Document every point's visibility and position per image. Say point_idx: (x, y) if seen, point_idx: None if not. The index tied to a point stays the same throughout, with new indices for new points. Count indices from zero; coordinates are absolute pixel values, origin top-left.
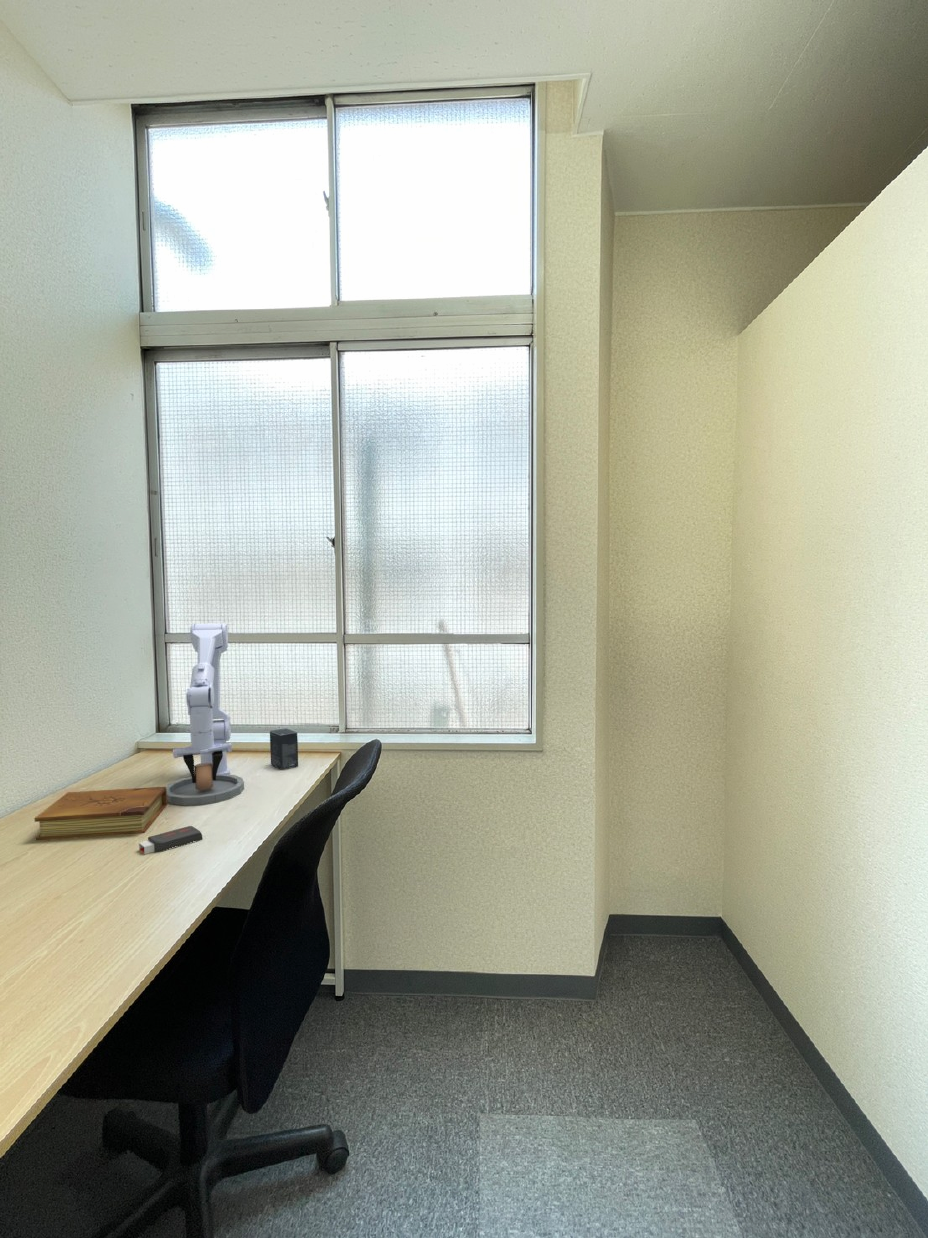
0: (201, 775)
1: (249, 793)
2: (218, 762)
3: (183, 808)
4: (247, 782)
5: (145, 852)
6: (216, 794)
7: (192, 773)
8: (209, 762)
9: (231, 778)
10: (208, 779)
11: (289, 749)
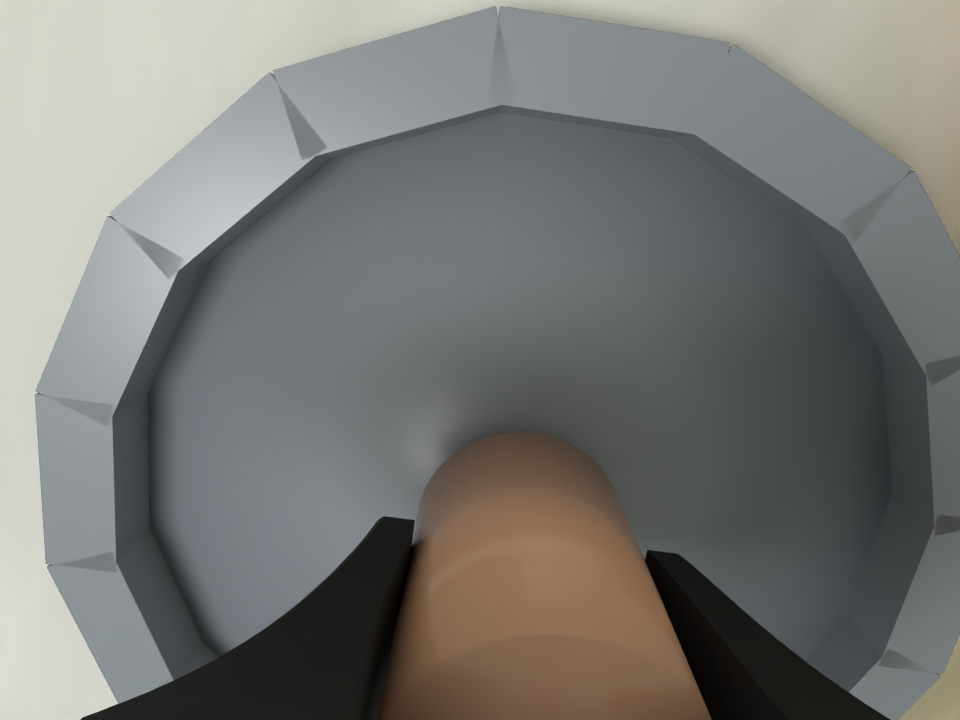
0: (602, 549)
1: (51, 159)
2: (240, 670)
3: (888, 50)
4: (40, 571)
5: None
6: (480, 16)
7: (749, 631)
8: None
9: (176, 653)
10: (489, 496)
11: None
